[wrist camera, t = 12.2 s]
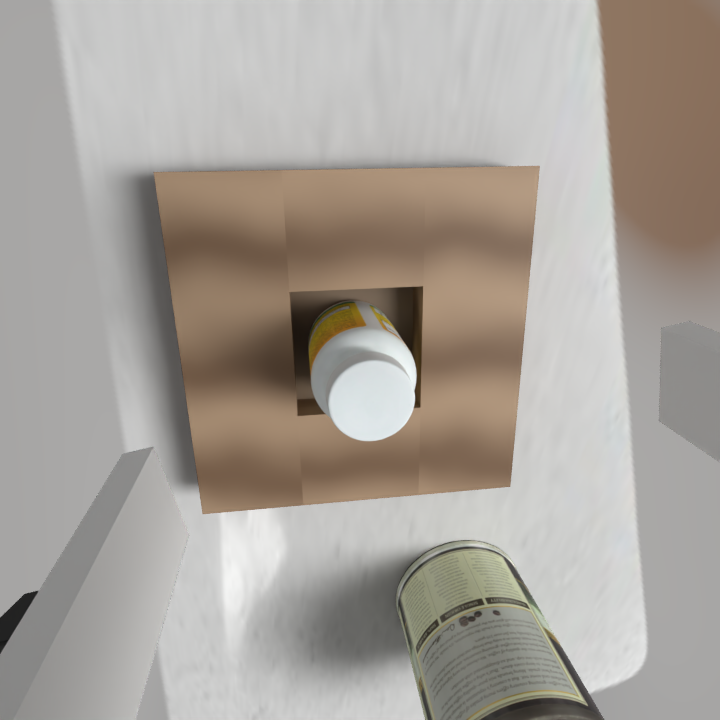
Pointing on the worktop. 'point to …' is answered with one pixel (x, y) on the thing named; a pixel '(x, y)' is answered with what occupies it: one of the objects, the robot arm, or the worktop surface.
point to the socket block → (334, 285)
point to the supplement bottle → (361, 371)
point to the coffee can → (484, 641)
